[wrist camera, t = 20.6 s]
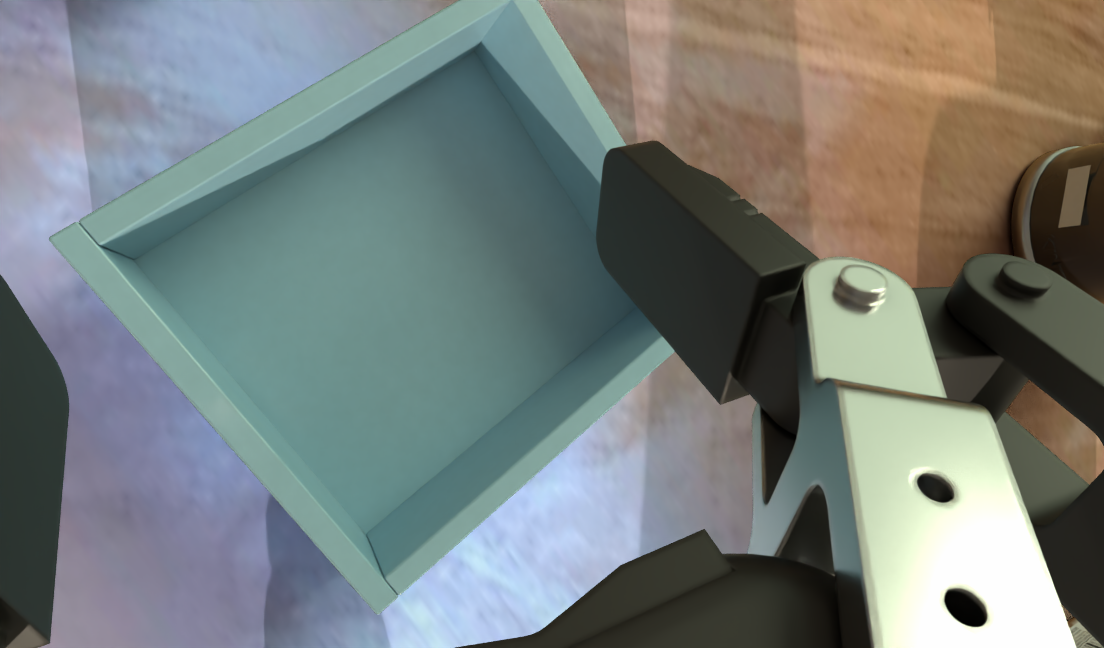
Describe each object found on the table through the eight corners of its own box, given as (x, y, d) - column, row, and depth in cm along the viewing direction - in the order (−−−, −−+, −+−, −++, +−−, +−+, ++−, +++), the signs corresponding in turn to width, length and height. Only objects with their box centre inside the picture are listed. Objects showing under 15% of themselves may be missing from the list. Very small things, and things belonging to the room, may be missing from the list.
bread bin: (474, 29, 26) (517, -35, 21) (653, 309, 29) (725, 307, 25) (97, 255, 22) (45, 238, 17) (358, 559, 25) (377, 616, 20)
